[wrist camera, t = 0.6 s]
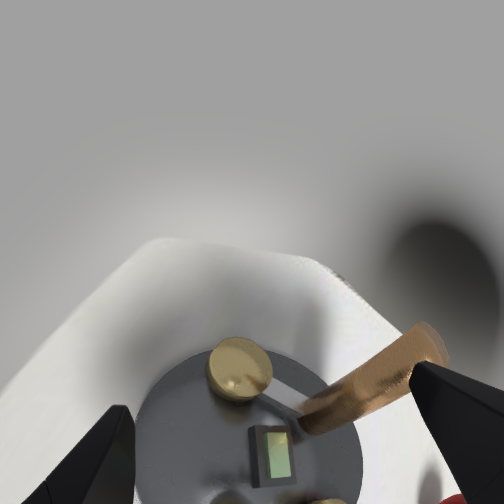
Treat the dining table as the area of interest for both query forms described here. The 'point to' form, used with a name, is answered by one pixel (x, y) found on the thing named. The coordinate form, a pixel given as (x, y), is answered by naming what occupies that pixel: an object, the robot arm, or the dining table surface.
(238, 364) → the knob lever
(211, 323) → the dining table surface
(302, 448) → the tribrach plate
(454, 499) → the onion
